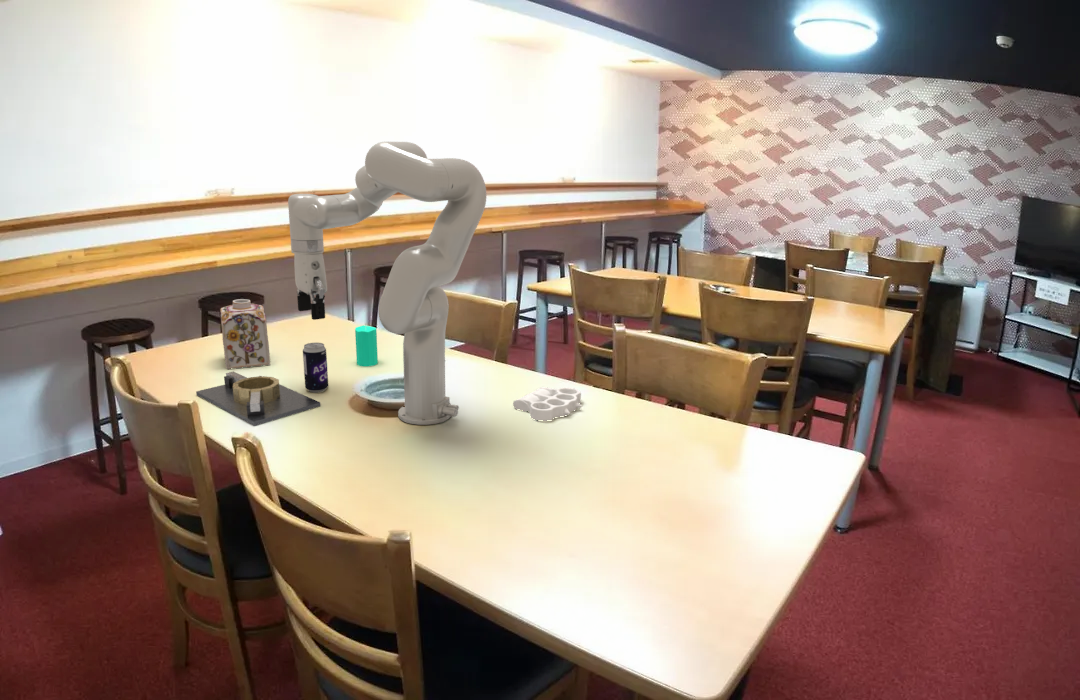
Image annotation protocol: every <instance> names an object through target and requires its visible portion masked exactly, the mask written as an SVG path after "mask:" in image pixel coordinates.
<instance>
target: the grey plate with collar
mask: <svg viewBox="0 0 1080 700" xmlns="http://www.w3.org/2000/svg"><path fill="white" fill-rule="evenodd" d="M223 379H224V384H221V385H217V386H212V387H209V388H204V389H201V390H197V391H195V393H196V397H199V398H201V399H203V400H205V401H206V402H209V403H211V404H213V405H214V406H216V407H218V408H220V409H221V410H223V411H225V412H227V413H229V414H230V415H233V416H234V417H236V418H238V419H241V420H242V421H244V422H246V423H248V424H250V425H251V426H253V427H255V426H258V425H263V424H265V423H269V422H273V421H275V420H279V419H282V418H285V417H288V416H292V414H293V415H296V414H299V413H301V412H302V411H303V412H305V411H309V409H310V410H313V409H315V408H319V407H321V406H322V405H321V402H320V401H318V400H316V399H315V398H312V397H309V396H307V395H304V394H303V393H301V392H298V391H296V390H293V389H291V388H289V387H287V386H284V385H282V384H280V379H278V378H277V377H276V378H275V377H274V376H267V375H266V376H265V375H264V376H263V375H259V376H249V377H247V376H244V375H242V374H241V373H238V372H236V371H234V370H233V371H229V372H226V373H225V375H224V376H223ZM272 420H273V421H272Z"/></svg>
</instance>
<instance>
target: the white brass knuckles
mask: <svg viewBox="0 0 1080 700" xmlns="http://www.w3.org/2000/svg"><path fill="white" fill-rule="evenodd" d="M581 398H582V393H581V391H580V390H579V389H577V388H575V387H560V388H552V387H545V386H542V387H539V388H536V390H534V391H532V392H529V393H527V394H525V395H524V396H522V397H520V398H517V399H515V400H513V403H512V405H513V406H512V407H513V408H514V409H516V410H517V409H520V410H523V411H522V412H525V411H529V412H530V413H529V412H528V413H529V417H530V416H531V418H533V419H535V420H543V421H547V420H552V419H553V418H555V417H560V416H565V415H568V414H569V415H570V414H571V413H572V412H571V411H574V410H576V411H577V409H579V408H582V407H583V405H581V401H582V400H581ZM579 403H580V404H579ZM576 408H577V409H576ZM520 410H519V411H520ZM570 412H571V413H570ZM569 415H568V416H569ZM531 418H530V419H531ZM533 419H532V420H533ZM535 420H534V421H535ZM553 420H554V419H553ZM553 420H552V421H553Z"/></svg>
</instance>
